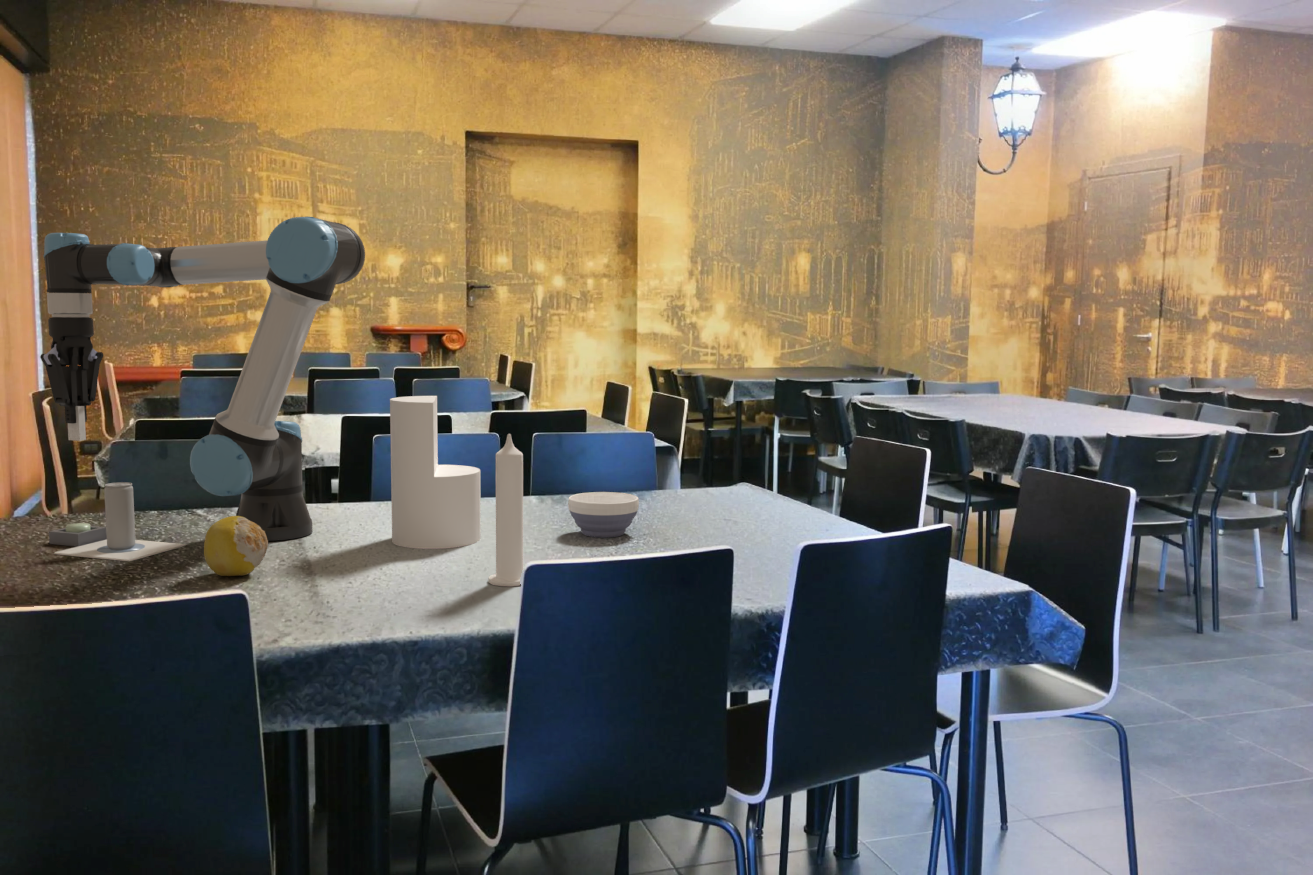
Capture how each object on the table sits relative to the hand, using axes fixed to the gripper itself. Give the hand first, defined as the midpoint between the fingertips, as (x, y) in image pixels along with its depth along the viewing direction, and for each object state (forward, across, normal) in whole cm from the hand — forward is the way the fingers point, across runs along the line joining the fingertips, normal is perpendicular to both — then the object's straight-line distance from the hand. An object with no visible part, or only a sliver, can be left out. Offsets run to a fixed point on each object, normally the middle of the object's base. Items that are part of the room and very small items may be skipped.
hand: (77, 439), depth 207 cm
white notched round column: (+20, -24, +63) cm, 71 cm away
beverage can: (+20, +4, +13) cm, 24 cm away
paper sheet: (+20, +4, +13) cm, 24 cm away
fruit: (+20, +14, +46) cm, 52 cm away
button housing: (+20, +1, 0) cm, 20 cm away
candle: (+21, +2, +91) cm, 93 cm away
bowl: (+21, -41, +92) cm, 103 cm away
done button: (+19, +1, 0) cm, 19 cm away
